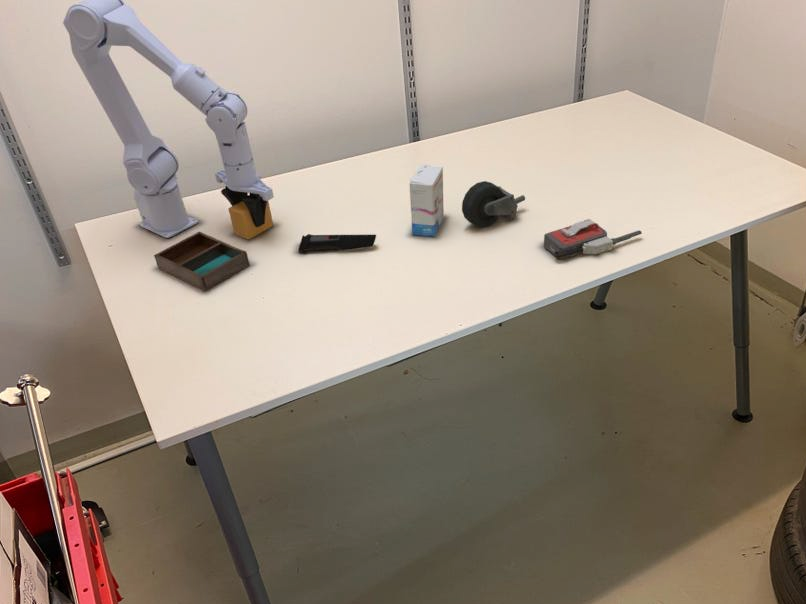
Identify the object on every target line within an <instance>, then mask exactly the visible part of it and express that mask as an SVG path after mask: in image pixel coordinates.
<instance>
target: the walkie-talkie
mask: <svg viewBox="0 0 806 604" xmlns="http://www.w3.org/2000/svg"><path fill="white" fill-rule="evenodd" d="M640 235H642V231H641V230H636V231H635V230H634V231H633V232H630V233H627V234H624V235H621V236H617V237H613V238H610V237H608V232H607V231H606V230H605V229H604V228H603V227H601V226H600V225H599V224H598V223H596V222H595V221H593V220H592V219H590V218H587V219H585V220H582V221H579V222H575V223H573V224H572V225H569V226H565V227H562V228H559V229H556V230H553V231H549V232H547V233H545V234H544V235H543V247H544V248H545V249H546V250H548V252H550V253H551V254H552V255H553V257H554V258H555V259H559V260H565V259H567V258H572V257H574V256H576V255H581V254H584V255H598V254H601V253H603V252H607V251H611V250H613V246H615V245H616V244H618V243H619V244H620V243H622V242H625V241H627V240H630V239H632V238H633V237H636V236H640Z"/></svg>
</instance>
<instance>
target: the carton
mask: <svg viewBox="0 0 806 604" xmlns="http://www.w3.org/2000/svg"><path fill="white" fill-rule="evenodd" d="M228 213H229V217H230V221H231V225H232V229H233V233H234V235H235V236H238V237H240V238H242V239H245V240H247V241H250V240H251V239H252V238H254V237H257V236H258V235H260V234H262V233H263V232H265V231H266V230H269V229H271V228H272V227H274V225H275V224H274V221H273V217H272V216H273V215H272V212H271V207H270V203H269V201H268V202H267V205H266V211H265V224H263V225H261V226H260V227H255V225H254V223H253V221H252V218H251V215H250V212H249V210H248V208H247V207H246V205H245V204H244V202H243V201H242V202H240V203H238V204H236V205H234V206H232V205H231V206H230V207H228Z"/></svg>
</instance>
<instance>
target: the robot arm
mask: <svg viewBox="0 0 806 604" xmlns="http://www.w3.org/2000/svg"><path fill="white" fill-rule="evenodd" d="M66 11H67V12H66V13H65V15H64V19H63V21H62V24H63V26H64V27H65V30H66V31H67V33H68V35H69V41H70V48H71V52H72V55H73V58H74V60H75V61H76V62H77V65H78V66H79V68H80V70H81V71H82V74H83V75H84V77H85V79H86V80H87V82H88V84H89V86H90V87H91V90H92V92H93V93H94V95H95V97H96V98H97V100H98V102H99V103H100V105H101V106H102V109H103V111H104V113H105V114H106V116H107V118H108V119H109V121H110V123H111V125H112V126H113V128H114V130H115V132H116V134H117V136H119V139H120V141H121V143H122V144H123V146H124V150H123V156H122V164H123V165H124V168H125V169H126V174H127V180H128V183H129V184H130V185H131V187H132V188H133V189H134V190H133V198H134V201H135V204H136V206H137V207H136V208H137V210H138V212H139V216H140V217H141V218H140V219H141V222H139V226H140V227H141V228H144V229H146V230H148V231H150V232H152V233H154V234H157V235H159V236H161V237H163V238H166V239H169V238H171V237H174V236H175V235H177V234H179V233H181V232H183V231H185V230H187V229H189V228H191V227H192V226H195V225H197V224H198V223H199V220H197V219H196V218H193V217H191V216H188V212H187V210H186V207H185V203H184V200H183V197H182V194H181V190H180V186H179V184H178V180H177V179H178V178H177V174H176V173H177V172H178V171H179V168H180V167H179V166H180V164H179V159H178V158H177V156H176V154H174V152H173V151H172V150H170V149H169V148H168V146H167V145H166V143H165V141H164V139H162V138H160V137H158V136H156V135H153V134H152V132H151V131H150V129H149V127H148V125H147V123H146V121H145V119H144V118H143V115H142V114H141V112H140V110H139V108H138V106H137V104H136V103H135V101H134V99H133V97H132V95H131V93H130V91H129V89H128V87H127V86H126V84H125V82H124V80H123V78H122V76H121V74H120V73H119V71H118V69H117V66H116V65H115V63H114V61H113V60H112V58H111V55H110V51H111V49H112V46H113V47H114V46H115V47H130V48H131V49H132V50H134V51H135V52H136V53H137V54H139V55H140V56H142V57H143V58H144V59H146V60H147V61H148V62H150V63H151V64H152V65H154V66H155V67H156V68H158V69H159V70H160V71H161V72H163V73H164V74H166V75H167V76H168V77H169V78H170V80H171V84H172V87H173V89H174V90H175V91H176V92H177V93H178V94H179V95H180V96H182V97H183V98H184V99H185V100H186V101H187V102H189V103H190V104H191V105H192V106H193V107H195V108H196V109H197V110H198V111H200V113H202V114H203V115H204V116H206V118H205V119H204V120H205V123H206V125H207V126H208V127H209V129H210V130H211V131H212V132H213V133H214V135H215V139H216V141H217V145H218V149H219V152H220V158H221V160H222V161H221V162H222V164H223V169H221V170H219V171H217V172H215V173H214V176H215V180H216V183H218V184H222V183H223V184H224V185H225V187H224V188H222V189H220V193H221V195H222V196H223V197H225V199H226V200H227V201H228V203H229V204H230V205H231V207H232V206H234V205H236V204H238V203H240V202H242V201H243V202H244V204H245V205H246V207H247V208H248V210H249V212H250V215H251V218H252V221H253V223H254V225H255V227H260V226H261V225H263V224H265V211H266V205H267V202H269V200H271V199H274V197H275V196H274V192H273V188H272V187H270V186H268V185H267V184H266V183H264V181H263V180H261V179H262V174H261V173H259V172H257V171H256V165H255V161H254V156H253V152H252V147H251V143H250V138H249V134H248V130H247V125H246V122H245V119H246V118H247V116H248V106H247V103H246V102H245V100H244V99H243V98H242V97H241V96H240V94H239V93H236V92H234V91H231V90H230V91H229V90H226V89H225V88H222V87H221V86H220V85H218V84H217V83H216V82H215V81H214V80H213V79H211V78H210V77H209V76H208V75H207V74H206V70H205V69H204V68H202V67H201V66H197V65H196V64H195V63H187V62H183V61H182V60H180V58H178V56H176V55H175V54H174V53H173V51H171V50H170V49H169V48H168V46H166V45H165V44H164V43H163V42H162V41H161V40H160V38H158V37H157V36H156V35H155V34H154V33H153V32H152V31H151V30H150V29H149V28H148V27H147V26H146V25H145V24H143V22H142V21H141V20H140V18H139V17H138V15H137V13H136V12H135V10H134V8H133V7H132V6H130V5H129V4H127V3H125V1H124V0H82V1H81V2H77V3H74V4H72V5H71V6H69V7H68V9H67V10H66Z"/></svg>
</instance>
